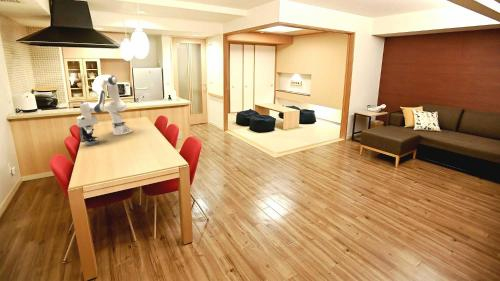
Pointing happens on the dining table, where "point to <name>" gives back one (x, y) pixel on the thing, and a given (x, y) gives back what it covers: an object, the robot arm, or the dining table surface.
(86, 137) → the vintage camera
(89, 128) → the lens
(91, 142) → the lens mount
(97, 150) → the dining table surface
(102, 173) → the dining table surface
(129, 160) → the dining table surface
